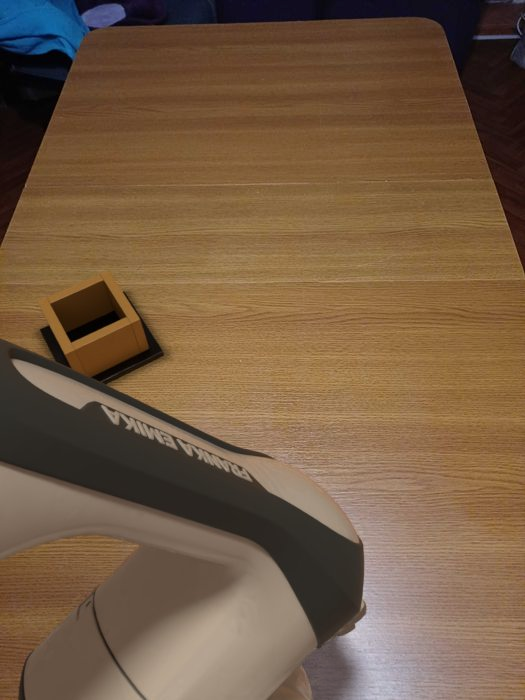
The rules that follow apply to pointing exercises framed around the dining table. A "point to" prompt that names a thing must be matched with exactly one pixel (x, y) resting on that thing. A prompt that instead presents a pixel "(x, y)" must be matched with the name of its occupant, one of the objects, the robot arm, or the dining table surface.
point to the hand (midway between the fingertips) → (205, 577)
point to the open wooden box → (97, 330)
